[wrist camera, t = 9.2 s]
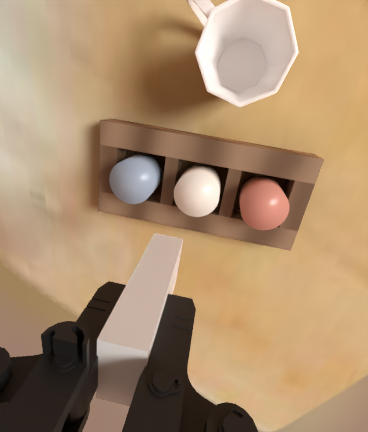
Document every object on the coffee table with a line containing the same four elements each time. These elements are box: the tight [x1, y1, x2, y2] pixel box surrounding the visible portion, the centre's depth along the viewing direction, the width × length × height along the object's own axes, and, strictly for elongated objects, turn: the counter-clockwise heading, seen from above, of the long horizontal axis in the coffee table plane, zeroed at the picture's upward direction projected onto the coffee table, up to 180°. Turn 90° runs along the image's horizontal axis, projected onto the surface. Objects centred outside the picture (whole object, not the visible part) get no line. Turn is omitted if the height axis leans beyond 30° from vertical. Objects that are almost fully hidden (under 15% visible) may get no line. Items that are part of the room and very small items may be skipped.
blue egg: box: [109, 153, 162, 204], centre depth 27 cm, size 4×4×4 cm
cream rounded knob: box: [174, 164, 221, 217], centre depth 27 cm, size 4×4×4 cm
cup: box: [187, 0, 298, 107], centre depth 21 cm, size 7×10×8 cm
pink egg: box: [239, 176, 289, 230], centre depth 26 cm, size 4×4×4 cm
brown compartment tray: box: [98, 119, 324, 251], centre depth 29 cm, size 22×10×3 cm, turn 81°
